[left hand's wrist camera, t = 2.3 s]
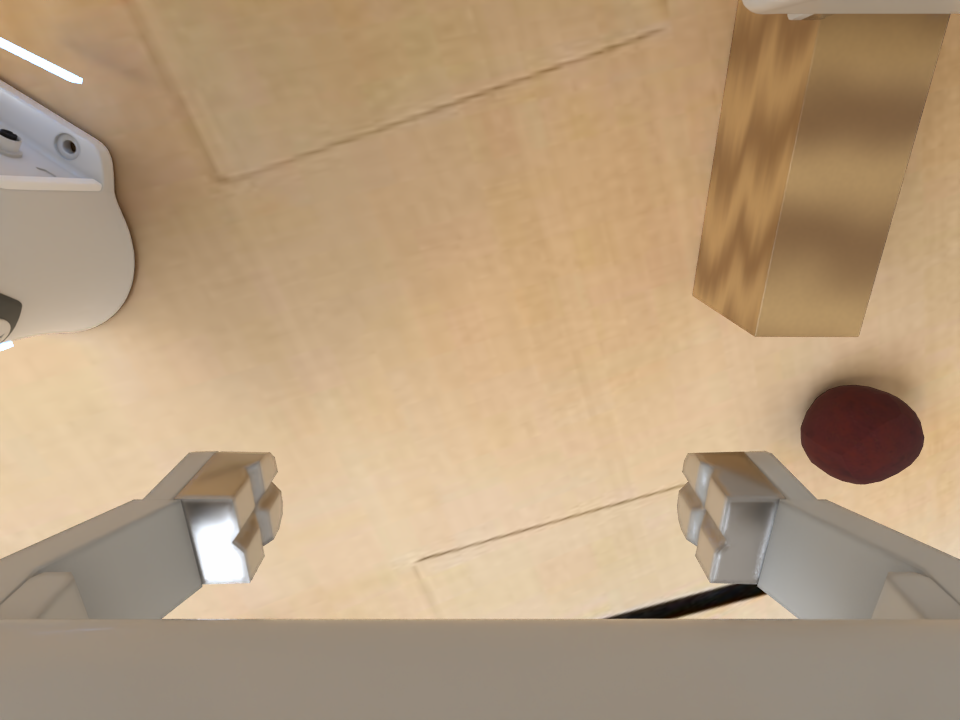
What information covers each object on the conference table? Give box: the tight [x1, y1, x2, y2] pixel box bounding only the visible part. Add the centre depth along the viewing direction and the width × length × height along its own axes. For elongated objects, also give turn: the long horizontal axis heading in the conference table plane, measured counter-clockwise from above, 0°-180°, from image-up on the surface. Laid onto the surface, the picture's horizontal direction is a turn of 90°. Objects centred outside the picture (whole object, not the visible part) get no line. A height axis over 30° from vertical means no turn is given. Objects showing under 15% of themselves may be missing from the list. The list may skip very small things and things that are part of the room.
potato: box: [801, 385, 924, 484], centre depth 40 cm, size 7×8×7 cm
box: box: [693, 0, 950, 337], centre depth 32 cm, size 21×6×10 cm, turn 0°
